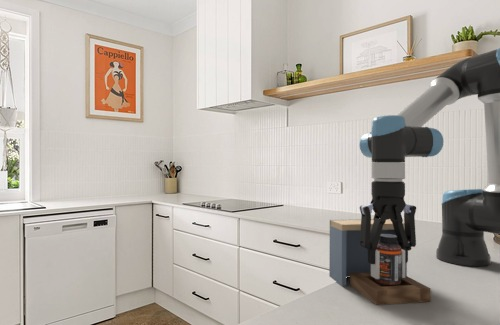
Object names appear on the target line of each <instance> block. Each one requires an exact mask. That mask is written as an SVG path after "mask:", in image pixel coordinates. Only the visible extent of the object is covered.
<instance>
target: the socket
mask: <svg viewBox="0 0 500 325" xmlns="http://www.w3.org/2000/svg"><path fill="white" fill-rule="evenodd" d="M349 285H350V287H352V288H354V289H355V290H356V291H357V292H358V293H360V294H361V295H363V296H364V297H366V298H367V299H368V300H369V301H371V302H372V303H374V304H375V305H376V306H382V305H399V304H412V303H413V304H416V303H430V302H431V288H430V287H429V286H427V285H425V284H423V283H421V282H420V281H418V280H416V279H413V278H411V277H410V276H408V275H407V276H405V278H402V277H401V283H400V284H399V285H395V286H388V285H383V284H380V283H378V282H377V281H376V280H375V278H374V277H372V276H371V272H366V273H350V277H349Z"/></svg>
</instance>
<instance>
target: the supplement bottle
mask: <svg viewBox="0 0 500 325" xmlns="http://www.w3.org/2000/svg"><path fill="white" fill-rule="evenodd" d="M379 240H380V241H379V243H378V245H377V249H376V250H378V251H380V279H375V280H376V281H377V282H378V283H380V284H383V285H388V286H395V285H399V284H400V283H401V247H400V245H398V243H397V236H396V235H392V234H381V235H380V238H379Z"/></svg>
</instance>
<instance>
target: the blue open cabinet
mask: <svg viewBox="0 0 500 325" xmlns="http://www.w3.org/2000/svg"><path fill="white" fill-rule="evenodd" d="M373 222H374V220H373V218H371V228H370V233H371V229H372V226H373ZM402 223H403V227H404V230H405V225H404V222H402ZM360 232H361V219H329V269H328V270H329V274H328V275H329V278H331V279H333V281H335V282H336V283H337V284H338V285H340V286H341V287H346V286H347V278H350V273H366V272H371V264H370V263H368V250H367V248H364V247H362V246H361V245H360ZM381 234H392V235H396V234H395V230H394V227H393V223H392V221H391V220H390V219H387V220H386V222H385V223H384V224H383V228H382V231H381ZM379 241H380V240H379ZM378 243H379V242H378ZM397 243H398V241H397ZM398 245H399V244H398ZM407 265H408V262H407V263H405V276H407V277H408V275H407V274H408V273H407V272H408V268H407V267H408V266H407Z"/></svg>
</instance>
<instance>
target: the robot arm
mask: <svg viewBox="0 0 500 325" xmlns="http://www.w3.org/2000/svg"><path fill="white" fill-rule="evenodd" d="M475 95H477V100H478V101H480V102H481V103H483V106H484V109H483V110H484V124H485V125H484V126H485V127H484V128H485V143H486V145H485V146H486V161H487V163H486V165H487V182H488V183H487V185H486V186H485V187H484V188H474V189H471V188H470V189H469V188H468V189H456V190H453V189H452V190H447V191H444V192H443V193H442V197H441V198H442V200H441V225H442V226H441V227H442V228H441V229H442V230H441V232H442V234H441V237H440V241H439V243H438V247H437V249H436V254H435V255H436V259H438V260H439V261H440V260H441V261H442V262H446V263H449V264H455V265H460V266H469V267H484V266H485V267H486V266H489V265H491V262H492V261H491V258H492V257H491V255H490V253H489V248H488V246H487V244H486V241H485V236H484V235H485V233H490V234H494V235H495V234H496V235H500V47H499V48H496V49H494V50H490V51H487V52H484V53H481V54H478V55H474V56H470V57H468V58H467V57H466V58H464V59H461V60H460V61H458V62H456V63H454V64H453V65H451V66H450V67H449V68H447V69H446V70H444V71H443V72H441V74H439V75H438V76H437V77H435V78H434V79H433V80H432V81H431V82H430V84H429V86H428V88H427V89H426V90H424V91H423V92H422V93H421V94H420V95H419V96H417V97H416V98H415V99H413V101H411V102H410V103H409V104H408V105H407V106H406V107H404V108H403V109H401V110H400V111H399V112H398V113H397V114H396V115H395V114H393V115H392V114H391V115H390V114H389V115H381V116H380V115H379V116H376V117H374V118H373V119H372V123H371V131H370V132H368V133H364V134H363V135H362V136H361V138H360V140H359V145H358V146H359V150H360V153H361V154H362V155H363V156H364V157H366V158H371V178H372V179H373V180H372V182H371V201H370V202H369V204H366V205H362V204H361V205H360V206H359V211H360V214H361V217H360V218H361V232H360V245H361V246H362V247H364V248H367V250H368V263H370V264H371V276H372V277H374V278H375V279H380V251H378V250H376V249H377V245H378V242H379V238H380V235H381V231H382V228H383V224H384V223H385V222H386V220H387V219H390V220H391V221H392V223H393V227H394V230H395V234H396V236H397V241H398V244H399V245H400V247H401V277H402V278H405V263H407V264H408V262H409V251H411V250H412V248H415V247H416V245H417V240H416V239H417V238H416V237H417V236H416V222H415V221H416V219H415V216H416V211H417V206H415V205H411V204H406V201H405V196H406V183H405V182H404V181H403V180H404V179H406V163H405V162H406V158H415V157H419V158H429V157H435V156H437V155H438V154H440V152H441V151H442V150H443V146H444V135H443V134H442V132H441V131H439V130H438V129H436V128H433V127H428V126H425V124H427V123H428V122H429V121H430V120H431V119H432V118H434V116H436V115H437V114H438V113H439V112H440V111H441V110H443V109H444V108H445V107H446V106H450V105H453V104H454V103H456V102H457V101H459V100H460V99H462V98H466V97H471V96H475ZM424 126H425V127H424ZM373 212H374V216H373V218H372V213H373ZM402 212H403V216H402ZM371 219H373V220H374V222H373V226H372V229H371V233H370V228H371ZM403 221H404V222H403ZM402 222H403V223H404V225H405V230H404V227H403V223H402Z"/></svg>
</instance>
